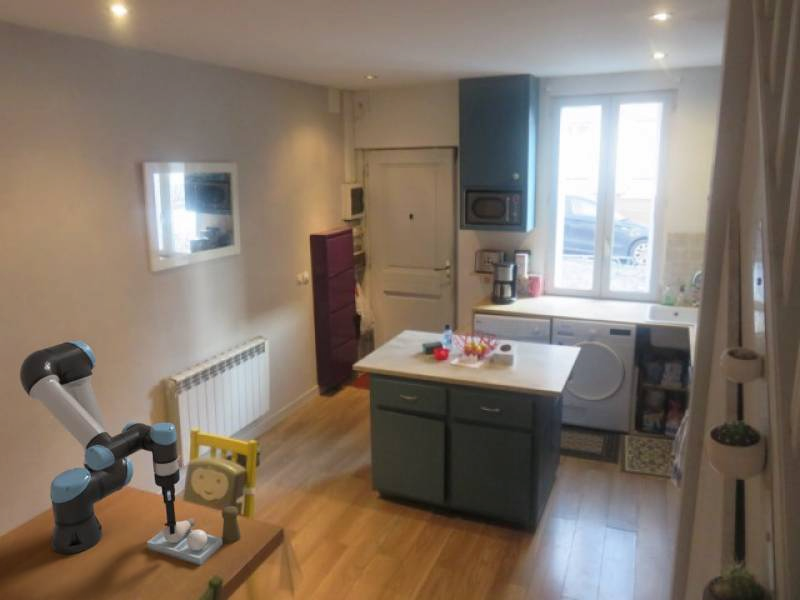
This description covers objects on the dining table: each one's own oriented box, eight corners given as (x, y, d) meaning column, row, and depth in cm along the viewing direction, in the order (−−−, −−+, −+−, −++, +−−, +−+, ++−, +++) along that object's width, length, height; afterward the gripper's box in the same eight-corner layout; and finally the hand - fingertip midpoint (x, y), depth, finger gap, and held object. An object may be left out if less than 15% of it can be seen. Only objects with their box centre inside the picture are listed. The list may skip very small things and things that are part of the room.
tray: (147, 548, 202) (147, 541, 201) (171, 530, 212) (171, 523, 211) (200, 565, 194) (199, 558, 193) (222, 545, 204) (222, 538, 203)
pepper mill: (235, 544, 204) (234, 514, 202) (218, 542, 206) (216, 512, 203) (243, 533, 210) (242, 504, 208) (227, 531, 211) (225, 502, 209)
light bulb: (188, 508, 210) (160, 523, 201) (201, 518, 207) (173, 535, 198) (186, 523, 212) (158, 539, 203) (198, 533, 209) (171, 550, 200)
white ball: (183, 552, 199) (181, 534, 198) (196, 540, 205) (195, 523, 203) (199, 557, 197) (197, 539, 195) (212, 545, 202) (211, 528, 201)
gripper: (181, 487, 189) (186, 548, 194) (176, 451, 211) (181, 506, 216) (155, 492, 186) (161, 554, 191) (152, 455, 208) (158, 511, 213)
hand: (171, 529), depth 203 cm, fingers open, 13 cm apart
